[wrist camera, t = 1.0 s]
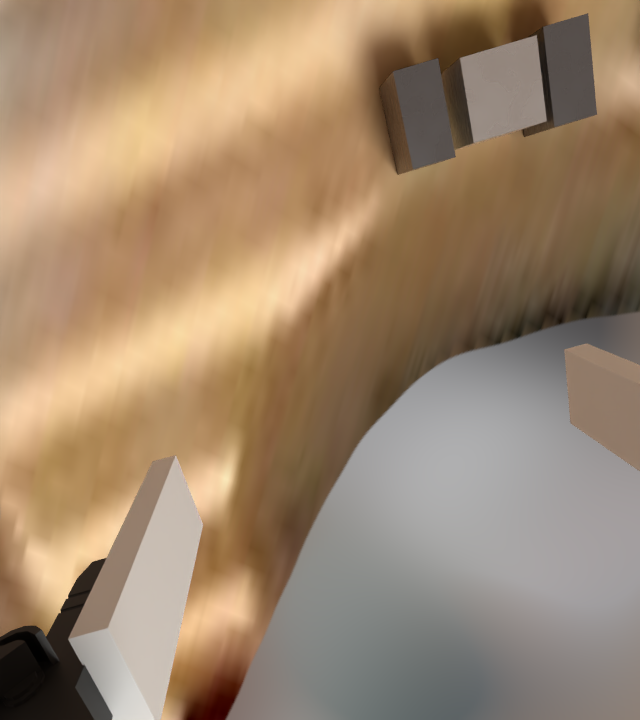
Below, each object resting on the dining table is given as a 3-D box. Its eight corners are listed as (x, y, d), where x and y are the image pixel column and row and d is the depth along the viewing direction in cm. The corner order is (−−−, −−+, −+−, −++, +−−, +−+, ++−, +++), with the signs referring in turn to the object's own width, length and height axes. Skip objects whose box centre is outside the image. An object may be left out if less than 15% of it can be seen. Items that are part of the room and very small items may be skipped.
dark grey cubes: (379, 88, 33) (392, 71, 30) (684, -3, 34) (737, -32, 30) (397, 174, 35) (413, 169, 31) (687, 87, 36) (737, 72, 32)
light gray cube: (433, 80, 34) (459, 58, 29) (499, 60, 34) (536, 35, 29) (446, 152, 35) (473, 143, 31) (509, 134, 35) (546, 121, 31)
